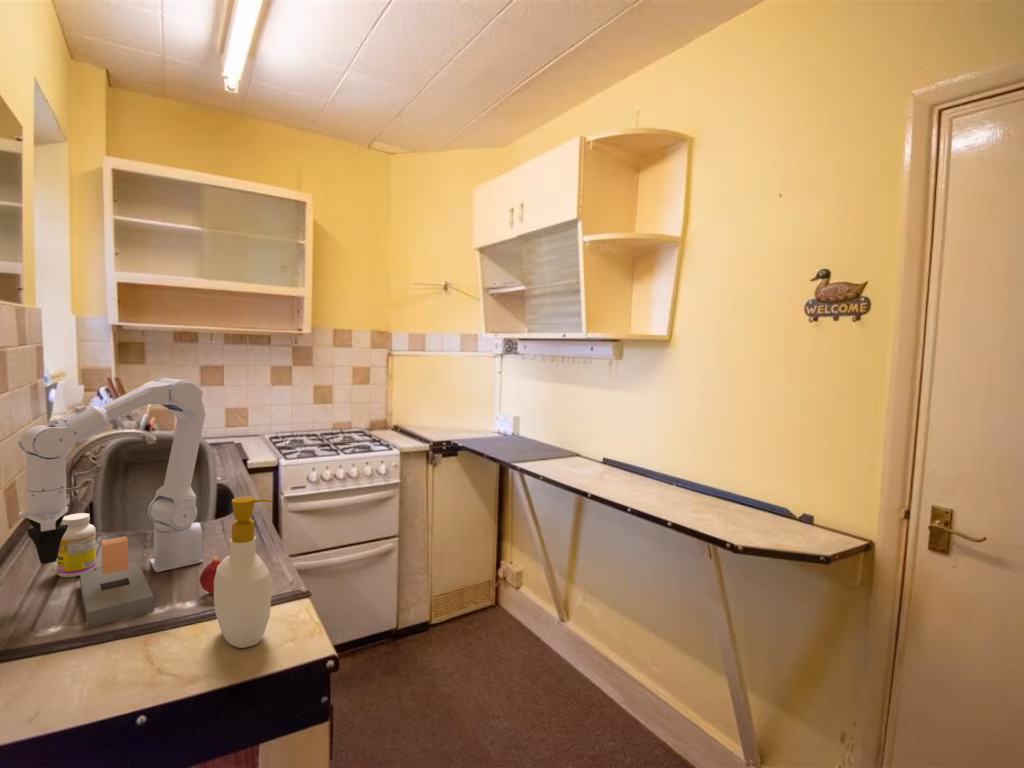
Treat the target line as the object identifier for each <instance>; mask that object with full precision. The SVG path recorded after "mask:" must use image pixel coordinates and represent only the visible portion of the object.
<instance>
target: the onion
mask: <svg viewBox="0 0 1024 768" xmlns="http://www.w3.org/2000/svg"><path fill="white" fill-rule="evenodd" d="M222 561H223V560H220V559H219V557H217V556H214V557H213V559H212V561H211V563H209V564H207V565H206V566H205V568H204V569H202V572H201V573H200V576H199V582H200V586H201V588H203V589H202V590H204V591H206V592H208V593H210V594H212V595H214V579H215V574H216V570H217V566H218V565H219V564H220V563H221V562H222Z"/></svg>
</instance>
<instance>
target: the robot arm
mask: <svg viewBox="0 0 1024 768" xmlns="http://www.w3.org/2000/svg"><path fill="white" fill-rule="evenodd" d="M203 394H204V391H203V390H202V389H201V388H200V386H198V384H196V383H195V382H194V381H193V380H191V379H178V378H170V377H167V376H166V377H165V376H162V377H158V378H156V379H154V380H150V381H147V382H145V383H144V384H142V385H141V386H139V387H137V388H135V389H133V390H130V391H129V392H127V393H125V394H123V395H121V396H119V397H117V398H114V399H113V400H111V401H109V402H108V403H105V404H103V405H102V406H95V405H86V406H85V405H79V406H76V407H75V408H74V410H75V411H73V412H71V413H69V414H65V415H64V416H62V417H59V418H57V419H56V418H51V419H49V420H48V424H47V425H46V424H45V425H41V424H39V425H35V426H31V427H30V428H28V429H26V431H25V433H23V434H22V436H21V438H20V440H18V442H17V443H18V446H19V448H20V450H21V451H22V452H24V453H25V484H26V485H25V487H26V488H25V490H26V494H25V495H26V511H20V512H18V515H17V516H18V519H25V518H27V521H28V522H29V523H30V525H31V526H32V528H31V527H30V528H27V530H26V532H27V533H26V534H27V535H28V537H29V538H30V539H31V541H32V542H33V544H34V547H35V548H36V551H37V555H38V560H39V562H40V565H45V564H49V563H55V562H57V556H58V552H59V547H60V543H61V540H62V537H63V535H64V534H65V532H66V530H67V528H68V525H63V524H62V519H63V517H65V516H66V513H68V511H69V507H68V506H67V469H66V468H67V465H66V464H67V463H66V454H67V453H68V452H69V451H70V450H71V448H72V447H73V446H75V445H76V444H78V443H81V442H82V441H85V440H87V439H88V438H90V437H92V436H94V435H96V434H98V433H100V432H103V431H105V430H106V429H107V428H108V426H109V424H110V421H113V420H114V419H117V418H119V417H121V416H123V415H127V414H128V413H132V412H133V411H136V410H138V409H140V408H142V407H145V406H148V405H161V406H162V407H164V408H166V409H168V411H169V412H171V413H172V415H173V416H174V417H175V418H176V426H175V430H174V434H173V439H172V440H173V441H172V445H171V450H170V453H169V457H168V458H169V459H168V464H167V467H166V471H165V472H166V473H165V477H164V482H163V485H162V486H161V487H159V488H158V489H157V490H156V491H155V495H154V498H153V500H152V501H151V502H150V504H149V506H148V508H147V515H148V517H149V519H150V520H151V521H152V522H153V528H154V529H153V530H154V531H153V539H154V541H153V544H154V546H153V549H154V550H153V553H154V555H153V556H154V558H150V559H149V563H150V564H151V566H152V568H153V570H154V572H155V573H160V572H164V571H165V572H166V571H169V570H174V569H177V568H182V567H187V566H191V565H195V564H200V563H201V564H202V563H203V561H204V560H203V530H202V525H201V523H200V522H198V521H195V520H196V518H197V517H198V508H197V506H196V505H197V504H196V501H197V495H196V493H195V492H194V491H193V488H192V482H193V477H194V472H195V466H196V463H197V458H198V454H199V453H198V452H199V448H200V443H201V438H202V432H203V427H204V424H205V418H206V410H205V407H204V403H203V400H202V399H203ZM61 524H62V525H61Z"/></svg>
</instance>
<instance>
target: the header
mask: <svg viewBox="0 0 1024 768" xmlns="http://www.w3.org/2000/svg"><path fill="white" fill-rule="evenodd" d="M79 588H80V595H81V601H82V604H83V609H84V615H85V621H86V625H87V629H89V628H93V627H97V626H100V625H104V624H109V623H112V622H116V621H120V620H123V618H124V619H127V618H130V617H134V616H138V615H142V614H145V613H149V612H152V611H153V612H154V594H153V592H152V590H151V587H150V585H149V583H148V581H147V579H146V576H145V573H144V572H143V570H142V567H141V565H140V562H139V561H138V560H137V561H134V562H133V561H131V562H128V569H127V570H122V571H117V572H113V573H108V574H103V571H102V568H98V569H94V570H93V571H88V572H83V573H80V576H79ZM108 622H109V623H108Z"/></svg>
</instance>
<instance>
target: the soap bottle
mask: <svg viewBox="0 0 1024 768" xmlns="http://www.w3.org/2000/svg"><path fill="white" fill-rule="evenodd" d="M261 502H267V503H269V502H270V503H272V502H273V500H272V499H266V498H258V499H256V498H255V497H253V496H251V495H250V496H249V495H248V496H247V495H246V496H245V495H244V496H239V497H234V498H232V500H231V505H232V510H233V515H234V516H233V517H234V521H233V522H232V523H231V538H230V539H229V555H227V556H225V557H224V558H223V559H222V560H221V561H222V562H221V563H220V564H219V565H218V566H217V570H216V574H215V579H214V594H213V602H214V605H213V606H214V612H215V613H214V614H215V616H216V619H217V623H218V626H219V628H220V631H221V634H222V636H223V638H224V639H225V640H226V641H227V642H228V644H230V645H231V646H233V647H236V648H243V649H244V648H248V647H253V646H255V645H257V644H258V643H260V642H261V641H262V639H263V636H264V635H265V631H266V629H267V625H268V623H269V619H270V616H271V615H270V614H271V606H272V580H271V575H270V570H269V569H268V567H267V566H266V564H265V562H264V561H263V559H262V558H261V557H260V556H259V555H258V553H256V550H257V549H256V547H257V546H256V543H257V540H256V539H257V538H256V535H255V520H254V519H252V518H253V512H254V507H255V503H261Z"/></svg>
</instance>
